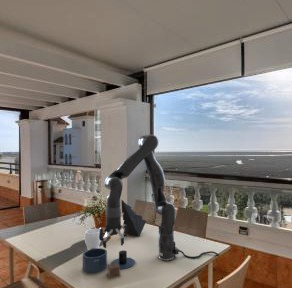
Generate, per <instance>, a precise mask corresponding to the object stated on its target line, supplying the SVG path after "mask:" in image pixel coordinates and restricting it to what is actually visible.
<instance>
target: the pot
mask: <svg viewBox="0 0 292 288" xmlns="http://www.w3.org/2000/svg"><path fill="white" fill-rule="evenodd" d="M107 268H108V251H107V249H106V248H101V247H99V248H92V249H90V250H88V249H87V250H86V251H83V253H82V272H84V273H86V274H97V273H101V272H103V271H105V270H106V269H107Z"/></svg>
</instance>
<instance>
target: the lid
mask: <svg viewBox="0 0 292 288" xmlns="http://www.w3.org/2000/svg"><path fill="white" fill-rule="evenodd" d="M115 263H118V265H119V269H120V270H127V269H130V268H132V267H134V266H135V264H136V260H135V259H134V258H132V257H128V252H127V250H120V251H119V252H118V257H117V258H115V259H113V260H112V261H111V262H110V264H115Z"/></svg>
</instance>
